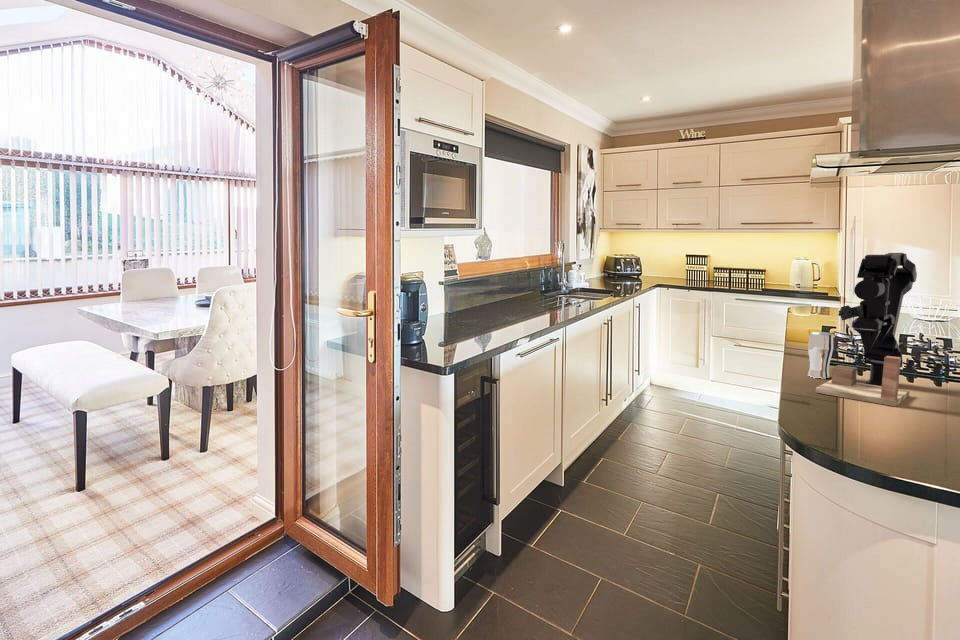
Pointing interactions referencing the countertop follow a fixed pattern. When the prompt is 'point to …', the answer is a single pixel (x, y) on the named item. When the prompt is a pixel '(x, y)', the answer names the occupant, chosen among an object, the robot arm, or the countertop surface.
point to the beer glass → (820, 354)
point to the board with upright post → (872, 387)
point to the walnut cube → (844, 375)
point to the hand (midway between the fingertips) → (871, 349)
